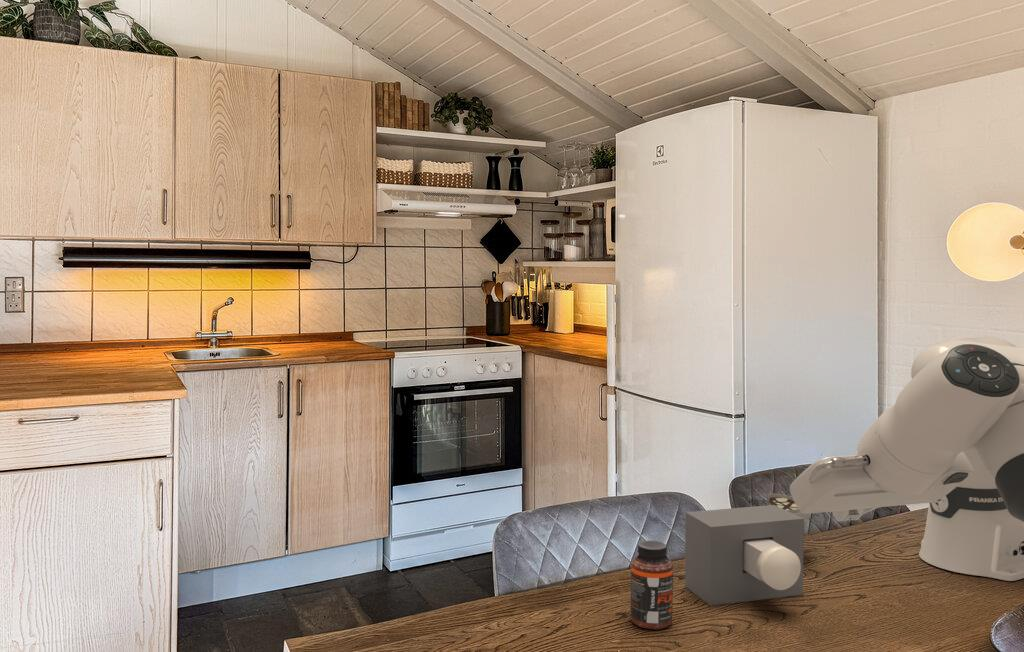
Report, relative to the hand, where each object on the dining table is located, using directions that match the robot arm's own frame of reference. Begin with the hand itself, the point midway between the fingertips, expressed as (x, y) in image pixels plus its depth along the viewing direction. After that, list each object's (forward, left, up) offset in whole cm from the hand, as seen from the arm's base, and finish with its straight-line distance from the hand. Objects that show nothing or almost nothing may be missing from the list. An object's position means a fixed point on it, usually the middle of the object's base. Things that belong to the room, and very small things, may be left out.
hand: (843, 515), depth 100 cm
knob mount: (0, -23, -19) cm, 30 cm away
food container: (-16, -34, -19) cm, 42 cm away
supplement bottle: (+19, -16, -19) cm, 31 cm away
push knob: (0, -17, -15) cm, 22 cm away
